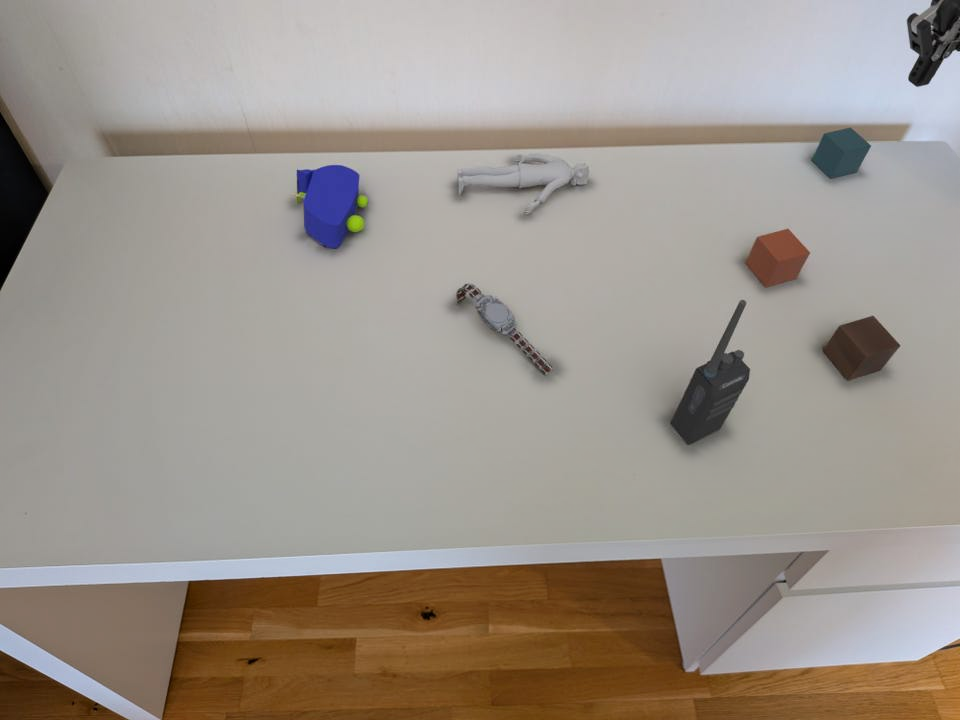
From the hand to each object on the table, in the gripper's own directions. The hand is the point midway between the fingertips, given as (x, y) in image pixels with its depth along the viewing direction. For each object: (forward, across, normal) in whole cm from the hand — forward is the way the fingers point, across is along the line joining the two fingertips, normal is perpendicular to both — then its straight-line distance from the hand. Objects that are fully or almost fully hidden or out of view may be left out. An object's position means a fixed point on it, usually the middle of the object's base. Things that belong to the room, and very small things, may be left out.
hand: (917, 82), depth 89 cm
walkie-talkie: (+12, -48, -31) cm, 59 cm away
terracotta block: (+12, -28, -14) cm, 33 cm away
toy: (+12, -77, +13) cm, 79 cm away
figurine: (+12, -51, +11) cm, 53 cm away
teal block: (+12, -7, 0) cm, 14 cm away
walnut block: (+12, -27, -29) cm, 42 cm away
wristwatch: (+12, -63, -13) cm, 65 cm away
